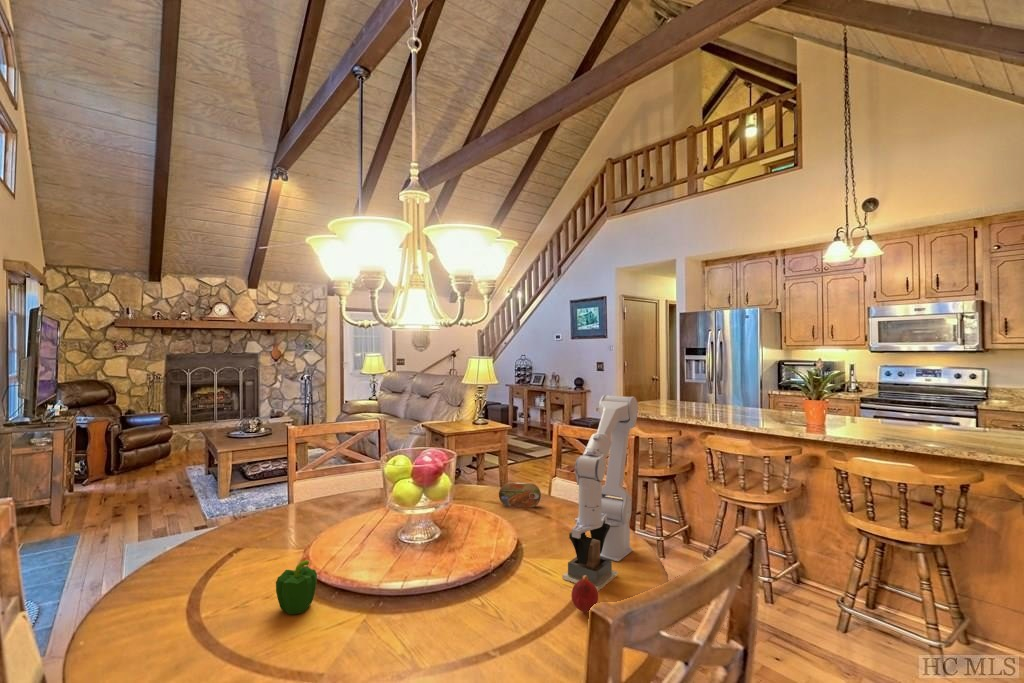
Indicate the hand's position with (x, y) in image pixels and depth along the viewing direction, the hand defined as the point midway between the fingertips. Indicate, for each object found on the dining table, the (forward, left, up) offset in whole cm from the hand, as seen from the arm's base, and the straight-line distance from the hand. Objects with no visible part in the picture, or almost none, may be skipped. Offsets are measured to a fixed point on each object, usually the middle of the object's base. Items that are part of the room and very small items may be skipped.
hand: (589, 557), depth 125 cm
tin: (-32, -46, -5) cm, 56 cm away
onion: (+15, +7, -5) cm, 17 cm away
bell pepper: (+53, -44, -5) cm, 69 cm away
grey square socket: (0, 0, -5) cm, 5 cm away
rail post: (0, 0, -4) cm, 4 cm away
